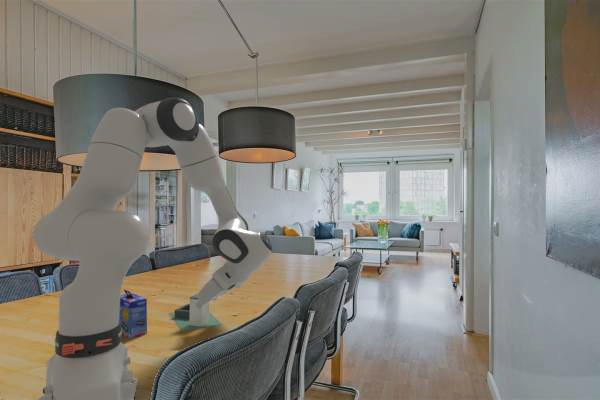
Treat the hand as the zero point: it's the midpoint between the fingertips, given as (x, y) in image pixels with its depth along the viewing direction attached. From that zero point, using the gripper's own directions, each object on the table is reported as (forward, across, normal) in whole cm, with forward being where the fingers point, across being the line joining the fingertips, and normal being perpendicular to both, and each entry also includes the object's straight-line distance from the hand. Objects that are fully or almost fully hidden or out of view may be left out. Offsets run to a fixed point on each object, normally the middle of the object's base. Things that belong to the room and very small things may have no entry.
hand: (205, 302), depth 114 cm
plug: (+6, 0, +4) cm, 7 cm away
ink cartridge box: (+19, +12, -6) cm, 23 cm away
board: (+10, -4, +2) cm, 11 cm away
